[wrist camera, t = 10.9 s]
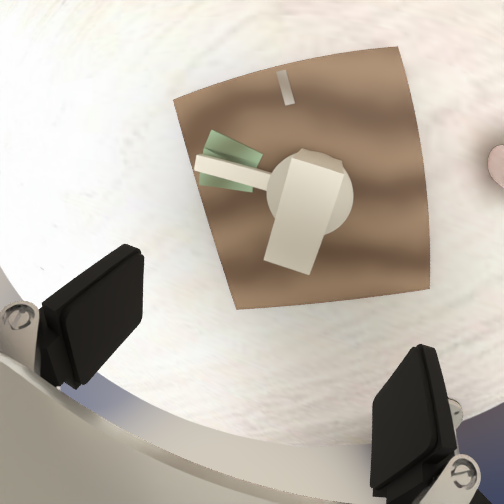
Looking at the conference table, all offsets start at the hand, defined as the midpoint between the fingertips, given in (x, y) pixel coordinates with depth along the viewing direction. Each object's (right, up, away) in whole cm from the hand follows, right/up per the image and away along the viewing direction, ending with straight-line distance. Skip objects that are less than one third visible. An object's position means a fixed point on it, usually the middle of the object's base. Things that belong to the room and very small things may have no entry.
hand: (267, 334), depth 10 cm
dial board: (+5, +8, +17) cm, 19 cm away
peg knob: (+1, +9, +16) cm, 18 cm away
